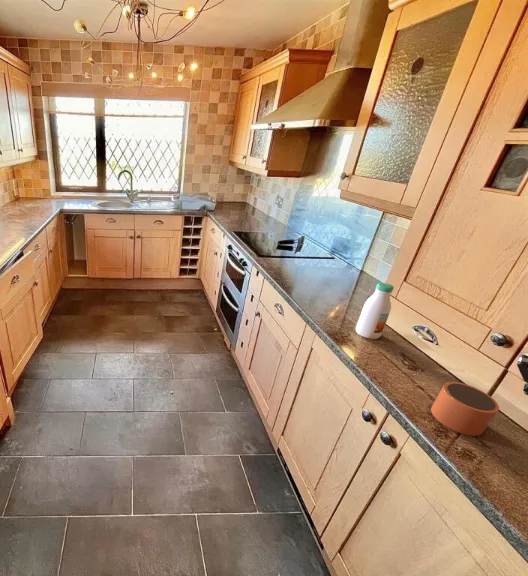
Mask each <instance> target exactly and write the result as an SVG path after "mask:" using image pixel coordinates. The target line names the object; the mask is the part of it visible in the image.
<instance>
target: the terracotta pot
mask: <svg viewBox="0 0 528 576" xmlns="http://www.w3.org/2000/svg"><path fill="white" fill-rule="evenodd" d="M499 410H500V405H499V404H498V402H497V401H496V400H495V398H493V397H492V396H491V395H489V394H488V393H486V392H485V391H483V390H481V389H479V388H477V387H475V386H472V385H470V384H467V383H462V382H456V381H449V382H446V383H444V384H443V386H442V387H441V389H440V391H439V393H438V395H437V396H436V398H435V400H434V402H433V403H432V405H431V407H430V411H431V414H432V416H433V417H434V418H435V419H436V420H437V421H438V422H439V423H441V424H442V425H443V426H445V427H446V428H449V429H450V430H452V431H454V432H457V433H459V434H461V435H466V436H470V437H471V436H473V437H475V436H477V437H478V436H480V435H482V434H483V433H484V432H485V430H486V429H487V427H488V426H489V425H490V424H491V422H492V420H493V419H494V417H495V416H496V415H497V413H498V412H499Z"/></svg>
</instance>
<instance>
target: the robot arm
mask: <svg viewBox="0 0 528 576" xmlns="http://www.w3.org/2000/svg"><path fill="white" fill-rule="evenodd" d="M516 366H517V368H518V371H519V373H520V375H521V377H522V379H523V381H524V382H525V383H524V385H523V389H522V392H524V395H526V396H528V355H527V354H519V356H518V359H517V363H516Z"/></svg>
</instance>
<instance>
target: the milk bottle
mask: <svg viewBox="0 0 528 576" xmlns="http://www.w3.org/2000/svg"><path fill="white" fill-rule="evenodd" d="M393 290H394V286H393V284H390V283H387V282H379V283H377V284H376V286H375V291H374V293H372V295H371V296H370V297H368V298H367V300H366V301H365V303H364V305H363V307H362V310H361V313H360V316H359V318H358V320H357V323H356V326H355V332H356V333H357V334H358V335H359V336H361V337H363V338H366V339H369V340H376V339H379V338H380V337H381V335H382V334H383V331H384V328H385V326H386V323H387V321H388V319H389V316H390V314H391V309H392V303H391V294H392V293H393Z"/></svg>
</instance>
